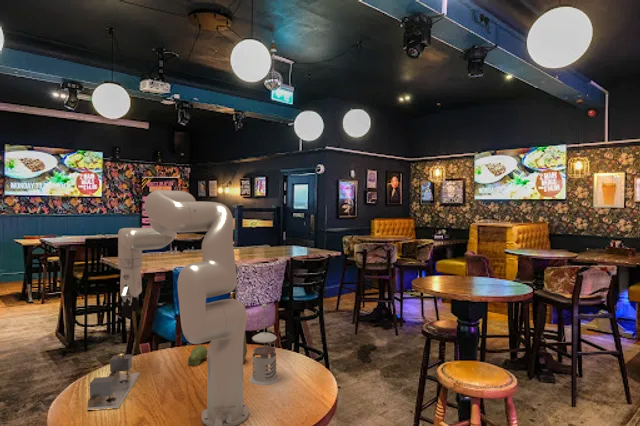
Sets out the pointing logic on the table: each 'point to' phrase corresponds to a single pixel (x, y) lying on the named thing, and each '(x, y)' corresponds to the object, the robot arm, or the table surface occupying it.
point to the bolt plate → (118, 391)
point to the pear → (197, 355)
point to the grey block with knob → (121, 363)
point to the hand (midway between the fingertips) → (130, 313)
